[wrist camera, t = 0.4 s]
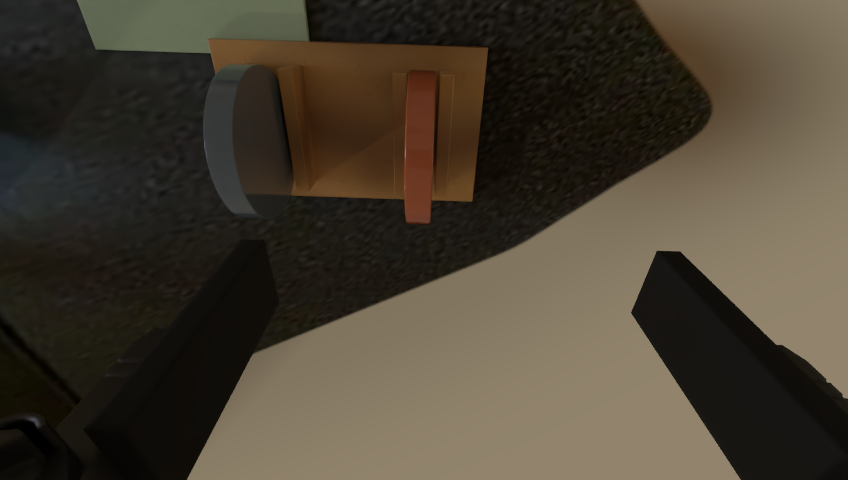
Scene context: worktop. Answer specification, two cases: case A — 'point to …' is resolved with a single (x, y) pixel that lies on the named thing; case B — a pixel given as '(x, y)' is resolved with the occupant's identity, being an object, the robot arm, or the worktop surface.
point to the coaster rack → (368, 112)
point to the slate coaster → (248, 141)
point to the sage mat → (190, 23)
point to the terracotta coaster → (419, 145)
